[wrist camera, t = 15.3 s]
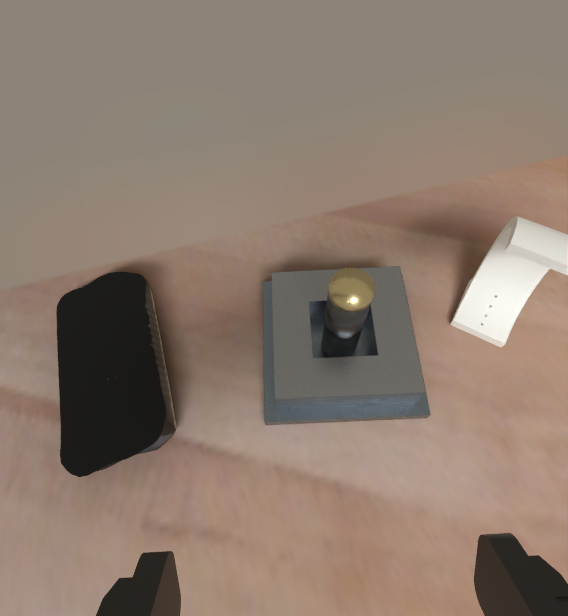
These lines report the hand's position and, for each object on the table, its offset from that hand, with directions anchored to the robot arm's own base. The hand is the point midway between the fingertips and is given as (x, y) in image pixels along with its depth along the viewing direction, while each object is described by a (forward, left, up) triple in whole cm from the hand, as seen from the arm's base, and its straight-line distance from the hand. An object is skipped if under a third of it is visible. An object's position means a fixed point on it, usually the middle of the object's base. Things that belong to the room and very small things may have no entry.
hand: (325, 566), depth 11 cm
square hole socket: (+4, +15, -21) cm, 26 cm away
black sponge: (-16, +13, -22) cm, 30 cm away
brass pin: (+3, +15, -20) cm, 25 cm away
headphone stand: (+17, +18, -21) cm, 33 cm away
